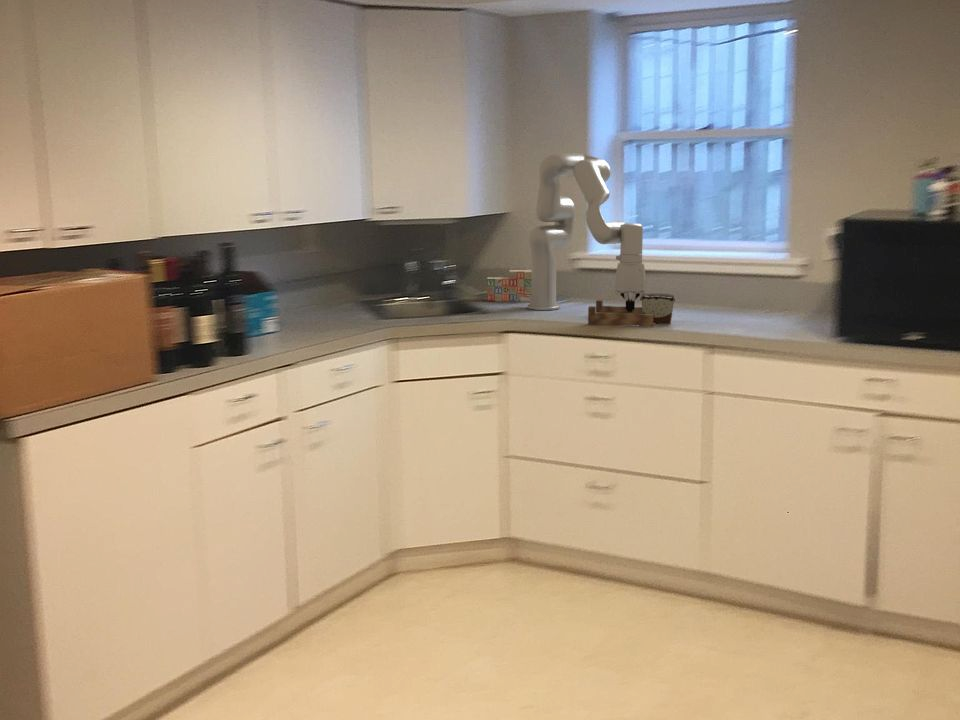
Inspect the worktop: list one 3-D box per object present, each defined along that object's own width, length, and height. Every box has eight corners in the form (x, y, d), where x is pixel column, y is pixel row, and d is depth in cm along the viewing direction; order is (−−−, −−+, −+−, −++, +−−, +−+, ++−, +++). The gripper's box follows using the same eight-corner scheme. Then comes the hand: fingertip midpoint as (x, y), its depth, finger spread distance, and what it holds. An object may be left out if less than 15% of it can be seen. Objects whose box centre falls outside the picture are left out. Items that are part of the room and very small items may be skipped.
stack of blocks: (486, 301, 403) (486, 271, 401) (487, 299, 409) (487, 269, 407) (539, 301, 402) (539, 271, 400) (539, 299, 408) (539, 269, 406)
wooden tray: (588, 324, 344) (588, 307, 342) (597, 316, 363) (597, 299, 362) (652, 326, 338) (652, 309, 337) (658, 318, 357) (658, 301, 356)
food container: (677, 322, 347) (678, 293, 345) (674, 325, 341) (675, 295, 340) (642, 320, 351) (643, 292, 350) (639, 323, 346) (639, 294, 344)
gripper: (608, 259, 344) (607, 312, 347) (651, 260, 340) (650, 313, 344) (611, 258, 351) (610, 309, 355) (653, 258, 347) (652, 310, 351)
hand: (630, 311), depth 349 cm, fingers closed
